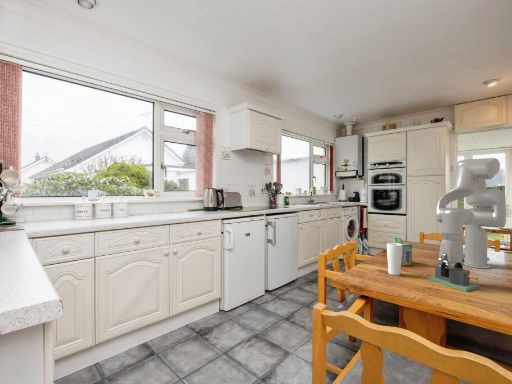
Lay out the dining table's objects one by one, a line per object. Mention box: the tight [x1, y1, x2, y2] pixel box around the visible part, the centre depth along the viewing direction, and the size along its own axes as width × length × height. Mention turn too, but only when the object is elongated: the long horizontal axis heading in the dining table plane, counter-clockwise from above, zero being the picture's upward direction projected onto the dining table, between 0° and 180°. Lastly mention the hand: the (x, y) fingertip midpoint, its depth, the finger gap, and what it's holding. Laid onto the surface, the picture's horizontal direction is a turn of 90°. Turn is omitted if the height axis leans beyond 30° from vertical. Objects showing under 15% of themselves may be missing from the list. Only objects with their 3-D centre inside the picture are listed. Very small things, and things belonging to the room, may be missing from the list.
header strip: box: [426, 274, 480, 292], centre depth 116 cm, size 9×16×5 cm, turn 23°
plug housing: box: [434, 263, 479, 286], centre depth 114 cm, size 5×16×6 cm, turn 23°
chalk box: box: [386, 236, 413, 267], centre depth 147 cm, size 9×9×15 cm
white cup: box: [386, 242, 402, 277], centre depth 129 cm, size 7×7×15 cm
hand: (451, 275), depth 116 cm, fingers open, 9 cm apart
